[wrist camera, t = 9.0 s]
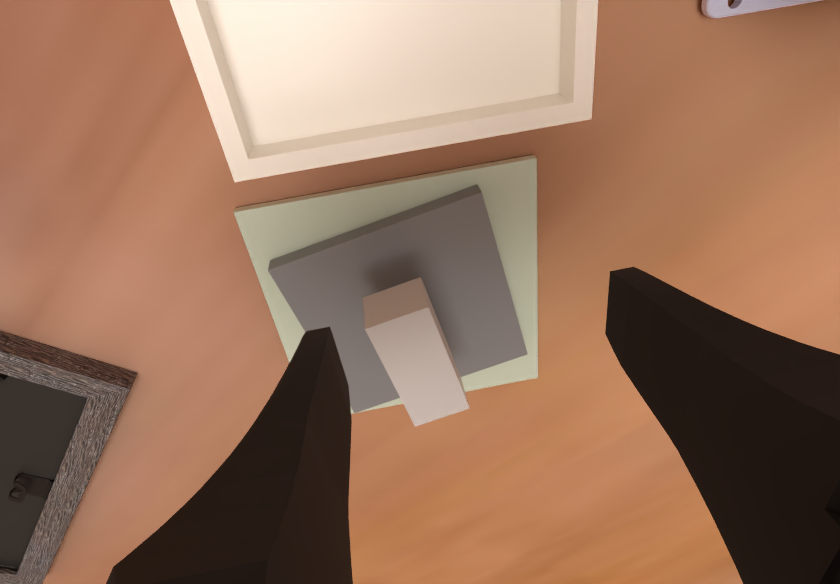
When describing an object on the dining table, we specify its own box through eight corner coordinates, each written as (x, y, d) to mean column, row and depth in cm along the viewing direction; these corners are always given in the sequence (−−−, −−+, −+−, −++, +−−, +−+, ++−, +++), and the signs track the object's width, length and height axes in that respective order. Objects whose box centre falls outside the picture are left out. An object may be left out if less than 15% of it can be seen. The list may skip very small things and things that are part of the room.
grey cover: (477, 184, 21) (506, 235, 17) (522, 343, 26) (553, 409, 22) (270, 260, 21) (256, 324, 18) (354, 401, 26) (356, 474, 23)
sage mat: (533, 154, 21) (536, 158, 20) (535, 372, 28) (537, 377, 27) (235, 208, 20) (233, 212, 20) (311, 415, 27) (311, 421, 27)
